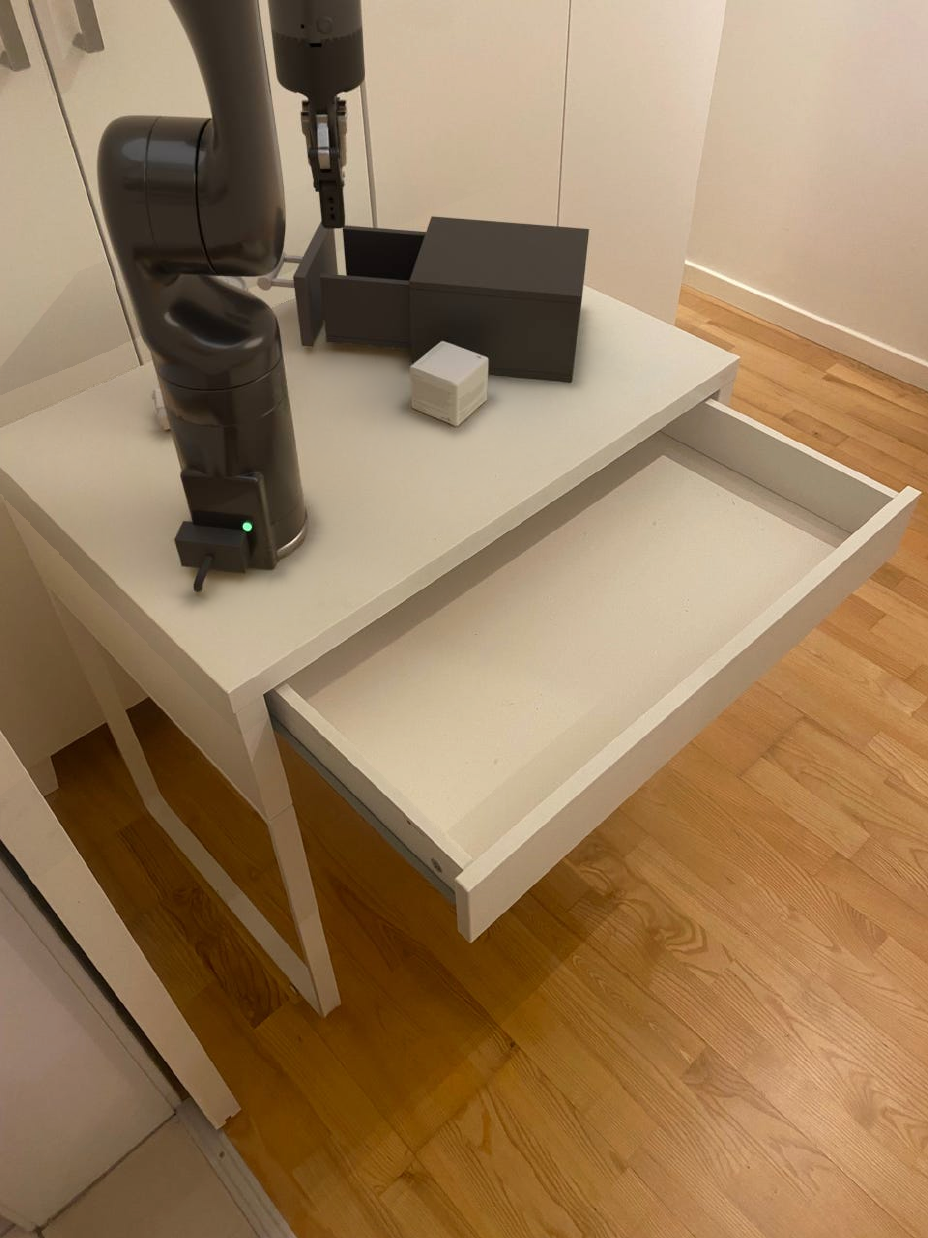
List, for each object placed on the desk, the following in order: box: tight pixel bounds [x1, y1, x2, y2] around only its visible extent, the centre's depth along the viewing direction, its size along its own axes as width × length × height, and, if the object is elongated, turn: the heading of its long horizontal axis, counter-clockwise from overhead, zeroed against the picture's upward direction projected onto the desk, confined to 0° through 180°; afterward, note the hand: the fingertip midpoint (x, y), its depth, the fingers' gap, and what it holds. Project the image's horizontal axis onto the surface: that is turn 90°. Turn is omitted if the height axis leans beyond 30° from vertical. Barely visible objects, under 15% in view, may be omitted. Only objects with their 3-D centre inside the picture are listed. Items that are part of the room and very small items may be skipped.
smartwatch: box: [151, 387, 171, 431], centre depth 90 cm, size 4×2×4 cm, turn 16°
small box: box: [409, 341, 489, 427], centre depth 93 cm, size 6×6×5 cm
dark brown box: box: [409, 215, 590, 383], centre depth 99 cm, size 17×14×10 cm
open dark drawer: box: [256, 221, 426, 351], centre depth 100 cm, size 20×12×8 cm, turn 82°
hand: (333, 224), depth 91 cm, fingers closed
